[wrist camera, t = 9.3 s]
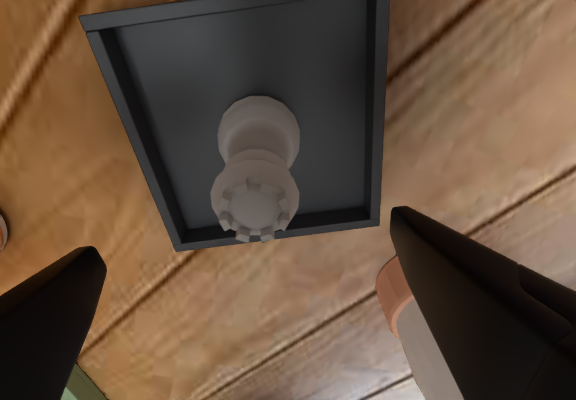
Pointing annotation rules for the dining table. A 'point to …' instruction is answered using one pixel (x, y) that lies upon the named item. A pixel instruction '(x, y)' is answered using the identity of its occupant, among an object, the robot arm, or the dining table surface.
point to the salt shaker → (414, 335)
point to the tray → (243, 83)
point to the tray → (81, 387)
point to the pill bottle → (2, 232)
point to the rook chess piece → (256, 168)
